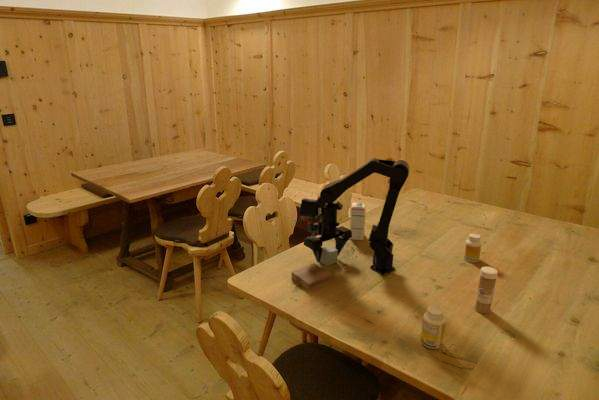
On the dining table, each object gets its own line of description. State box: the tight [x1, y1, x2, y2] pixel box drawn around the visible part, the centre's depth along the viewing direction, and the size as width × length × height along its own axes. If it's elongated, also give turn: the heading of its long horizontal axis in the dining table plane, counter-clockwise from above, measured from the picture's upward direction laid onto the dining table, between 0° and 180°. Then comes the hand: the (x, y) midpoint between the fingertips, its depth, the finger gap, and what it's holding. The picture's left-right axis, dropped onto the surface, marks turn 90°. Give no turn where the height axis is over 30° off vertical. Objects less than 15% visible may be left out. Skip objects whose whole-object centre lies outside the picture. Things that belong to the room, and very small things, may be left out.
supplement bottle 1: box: [420, 305, 447, 350], centre depth 105 cm, size 6×6×10 cm
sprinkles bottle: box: [474, 266, 499, 314], centre depth 119 cm, size 5×5×13 cm
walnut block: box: [290, 262, 334, 292], centre depth 136 cm, size 10×10×3 cm
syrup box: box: [349, 202, 367, 241], centre depth 168 cm, size 6×6×14 cm
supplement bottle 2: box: [463, 233, 482, 263], centre depth 150 cm, size 5×5×10 cm
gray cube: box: [319, 244, 339, 267], centre depth 149 cm, size 5×5×5 cm
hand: (327, 258), depth 149 cm, fingers open, 9 cm apart
